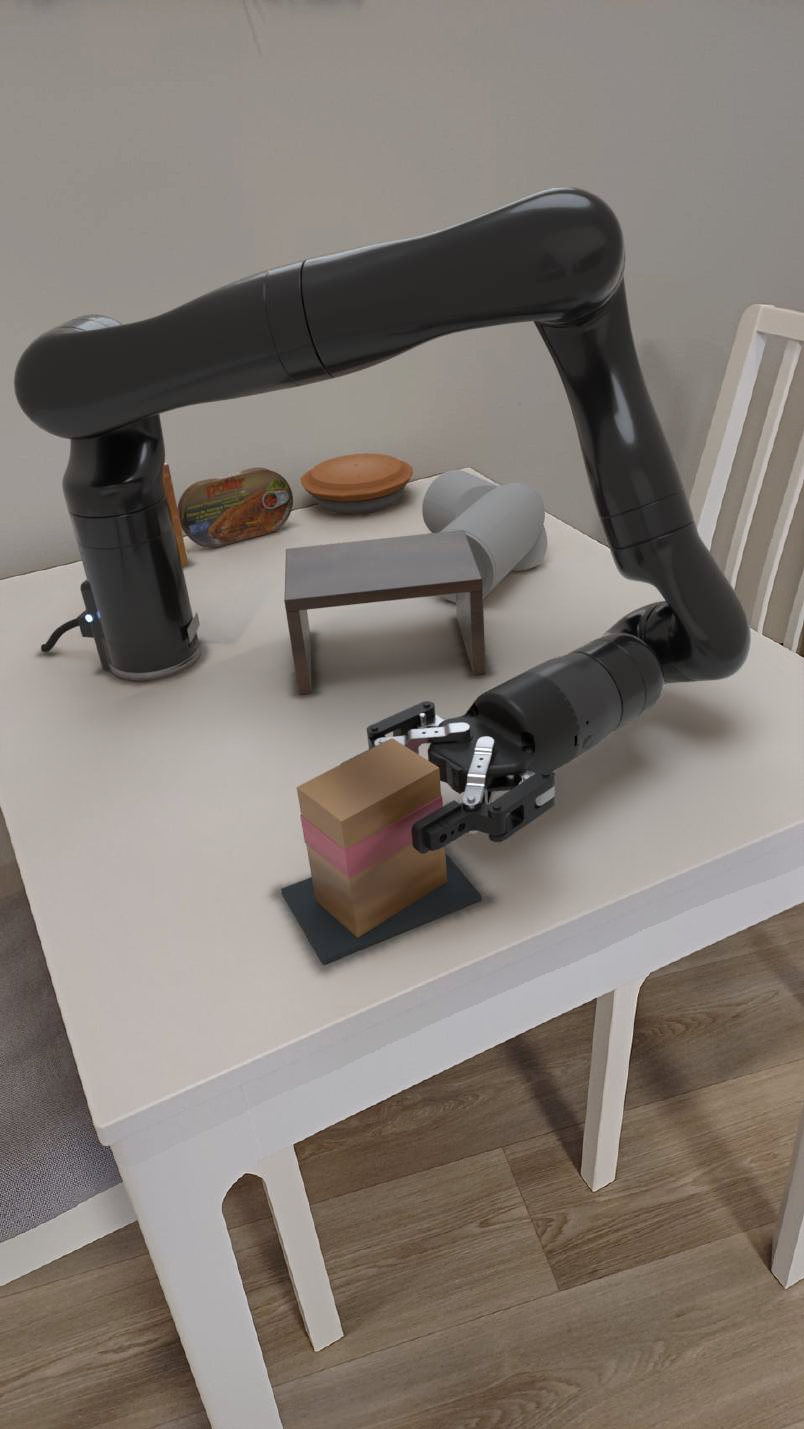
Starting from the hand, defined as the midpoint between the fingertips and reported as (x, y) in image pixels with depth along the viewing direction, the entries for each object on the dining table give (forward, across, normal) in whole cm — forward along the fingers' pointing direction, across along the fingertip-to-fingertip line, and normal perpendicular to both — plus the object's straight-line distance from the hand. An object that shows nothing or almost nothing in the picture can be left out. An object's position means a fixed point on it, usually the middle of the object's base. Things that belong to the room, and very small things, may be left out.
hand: (375, 811), depth 66 cm
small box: (-15, -67, +8) cm, 69 cm away
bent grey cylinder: (-41, -36, +8) cm, 55 cm away
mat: (0, 0, +7) cm, 7 cm away
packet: (0, 0, +7) cm, 7 cm away
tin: (-28, -66, +8) cm, 72 cm away
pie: (-46, -65, +8) cm, 80 cm away
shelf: (-22, -27, +7) cm, 36 cm away
